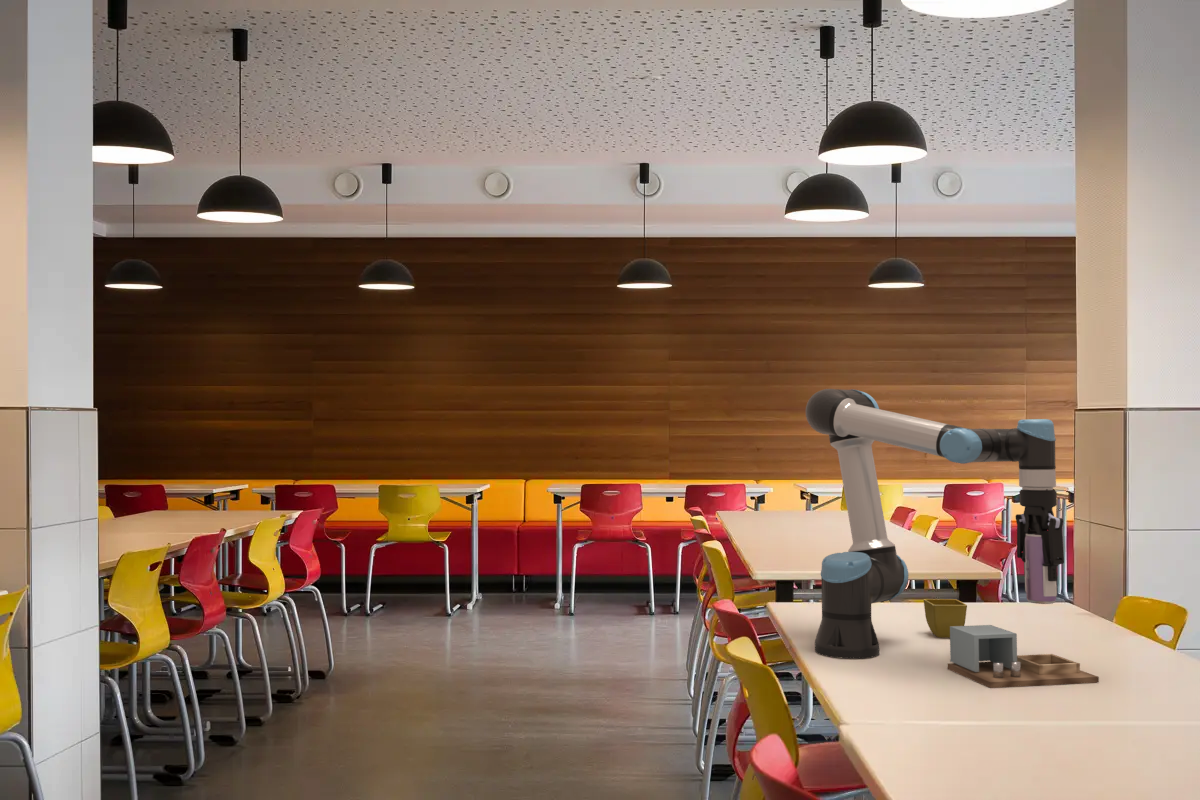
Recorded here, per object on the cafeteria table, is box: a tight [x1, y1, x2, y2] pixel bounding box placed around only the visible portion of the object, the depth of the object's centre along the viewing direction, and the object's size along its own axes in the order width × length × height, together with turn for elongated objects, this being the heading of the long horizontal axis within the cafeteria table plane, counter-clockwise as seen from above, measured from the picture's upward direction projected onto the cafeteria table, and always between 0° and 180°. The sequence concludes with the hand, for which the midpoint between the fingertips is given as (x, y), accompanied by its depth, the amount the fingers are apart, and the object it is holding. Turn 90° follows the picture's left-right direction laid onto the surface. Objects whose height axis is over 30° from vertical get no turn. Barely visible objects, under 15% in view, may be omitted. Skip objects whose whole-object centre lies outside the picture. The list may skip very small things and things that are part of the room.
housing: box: [949, 624, 1018, 672], centre depth 217 cm, size 10×10×8 cm
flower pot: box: [923, 598, 968, 639], centre depth 256 cm, size 9×9×9 cm
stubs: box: [993, 661, 1021, 678], centre depth 208 cm, size 6×2×3 cm, turn 100°
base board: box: [946, 653, 1100, 689], centre depth 214 cm, size 25×17×3 cm
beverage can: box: [1025, 533, 1057, 605], centre depth 217 cm, size 6×6×15 cm
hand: (1040, 593), depth 217 cm, fingers closed on beverage can, 6 cm apart
